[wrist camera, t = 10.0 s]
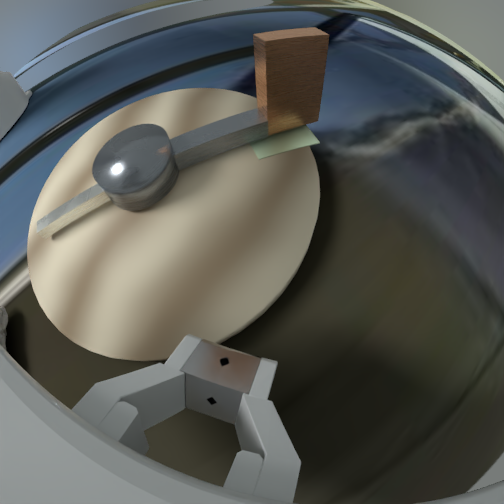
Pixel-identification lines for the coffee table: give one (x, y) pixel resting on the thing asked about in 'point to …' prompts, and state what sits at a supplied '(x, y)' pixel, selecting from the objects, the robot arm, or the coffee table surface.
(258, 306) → the stand
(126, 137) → the grey pivot bar
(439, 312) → the coffee table surface
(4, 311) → the mineral rock
